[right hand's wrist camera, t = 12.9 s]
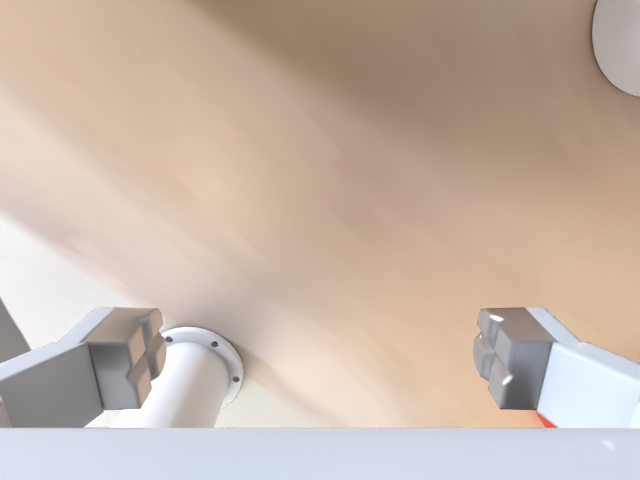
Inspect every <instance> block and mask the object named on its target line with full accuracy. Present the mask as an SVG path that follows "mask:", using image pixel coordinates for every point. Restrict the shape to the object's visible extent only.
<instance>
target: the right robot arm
mask: <svg viewBox="0 0 640 480" xmlns="http://www.w3.org/2000/svg"><path fill="white" fill-rule="evenodd" d="M592 41H593V48H594V53H595V57H596V60H597V62H598V65H599V67H600V69H601V70H602V72H603V73H604V75H605V76H606V78H607V79H608V80H609V81H610V82H611V83H612V84H613V85H614V86H616V87H617V88H619V89H620V90H622V91H624V92H626V93H628V94H631V95H634V96H637V97H640V0H598V1H597V4H596V8H595V12H594V17H593V25H592ZM162 325H163V321H162V315H161V312H160V311H159V310H158V308H117V307H100V308H94V309H93V310H92V311H91V312H90V313H89V314H88V315H87V316H86V317H85V318H84V319H82V320H81V321H80V322H79V323H78V324H77V325H76V326H75V327H74V328H73V329H72V330H71V331H70V332H69V333H67V334H66V335H65V336H64V337H63V338H62V339H61V340H60V341H59V342H58V343H49V344H46V345H44V346H42V347H39V348H37V349H34V350H32V351H30V352H27V353H25V354H22V355H20V356H18V357H15V358H13V359H10V360H8V361H6V362H3V363H1V364H0V480H640V364H639V363H637V362H634V361H632V360H630V359H627V358H625V357H622V356H620V355H618V354H615V353H613V352H610V351H608V350H606V349H603V348H601V347H598V346H596V345H594V344H591V343H582V342H581V341H580V340H579V339H578V338H577V337H576V336H575V335H574V334H573V333H572V332H570V331H569V330H568V329H567V328H566V327H565V326H564V325H563V324H562V323H561V322H560V321H559V320H558V319H557V318H556V317H554V316H553V315H552V314H551V313H550V312H549V311H548V310H547V309H546V308H542V307H529V308H485V309H481V310H480V312H479V315H478V320H477V325H478V326H479V328H480V329H481V331H482V332H481V333H480V334H479V335H478V336H477V337H476V338H475V339H474V347H473V354H474V362H475V365H476V369H477V371H478V372H479V374H480V376H481V377H483V378H484V379H486V380H487V381H489V385H488V390H489V392H490V394H491V395H492V397H493V399H494V401H495V402H496V404H497V406H498V407H499V409H514V410H537V411H536V412H537V413H539V414H540V415H541V416H543V417H544V418H545V419H547V420H548V421H549V422H551V423H552V424H553V425H555V426H556V427H557V428H83V427H84V426H86V425H87V424H88V423H89V422H91V421H92V420H93V419H95V418H96V417H97V416H99V415H100V414H101V413H103V410H125V409H141V407H142V406H143V404H144V402H145V401H146V399H147V397H148V395H149V394H150V392H151V390H152V385H151V381H153V380H154V379H156V378H157V377H159V376H160V374H161V372H162V371H163V369H164V365H165V361H166V357H167V346H166V339H165V338H164V337H163V336H162V335H161V334H160V333H159V332H158V331H159V329H160V328H161V326H162Z"/></svg>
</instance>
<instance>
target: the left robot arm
mask: <svg viewBox="0 0 640 480" xmlns="http://www.w3.org/2000/svg"><path fill="white" fill-rule="evenodd" d="M161 335H162V336H163V337H164V338H165V339H166V346H167V357H166V361H165V365H164V369H163V371H162V372H161V374H160V376H159V377H157V378H156V379H154V380H153V381H151V385H152V390H151V392H150V394H149V395H148V397H147V399H146V401H145V402H144V404H143V406H142V407H141V409H125V410H122V411H121V413H120V414H119V416H118V417H117V419H116V420H115V422H114V423H113V425H112V426H111V428H214V427H215V424H216V421H217V418H218V415H219V412H220V409H222V408H224V407H226V406H227V405H229V404H230V403H231V402H232V401H233V400H234V399H235V398H236V397H237V395H238V393H239V391H240V389H241V386H242V383H243V377H244V370H243V364H242V361H241V358H240V356H239V354H238V353H237V351H236V350H235V348H234V347H233V346H232V345H231V344H230V343H229V342H228V341H226V340H225V339H224V338H223V337H221V336H219V335H218V334H216V333H214V332H211V331H209V330H206V329H202V328H197V327H180V328H174V329H171V330H168V331H166V332H164V333H162V334H161Z"/></svg>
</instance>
